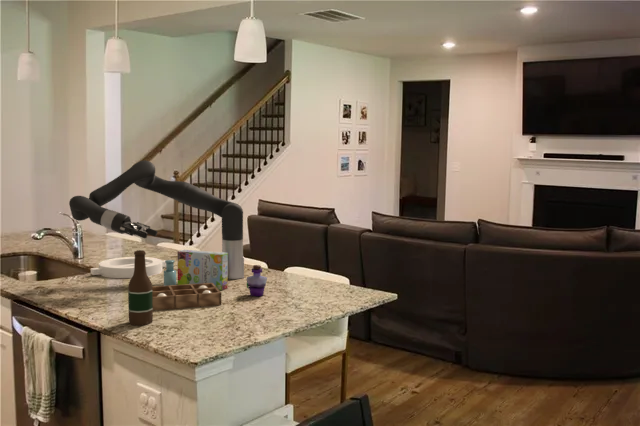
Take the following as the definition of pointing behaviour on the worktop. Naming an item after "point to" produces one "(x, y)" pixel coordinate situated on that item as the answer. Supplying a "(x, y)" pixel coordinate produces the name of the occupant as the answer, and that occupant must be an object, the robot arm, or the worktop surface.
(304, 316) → the worktop surface
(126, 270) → the white circle with bar
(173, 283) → the bud vase
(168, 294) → the crate
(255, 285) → the potion bottle
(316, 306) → the worktop surface
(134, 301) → the beer bottle
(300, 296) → the worktop surface
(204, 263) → the snack box
